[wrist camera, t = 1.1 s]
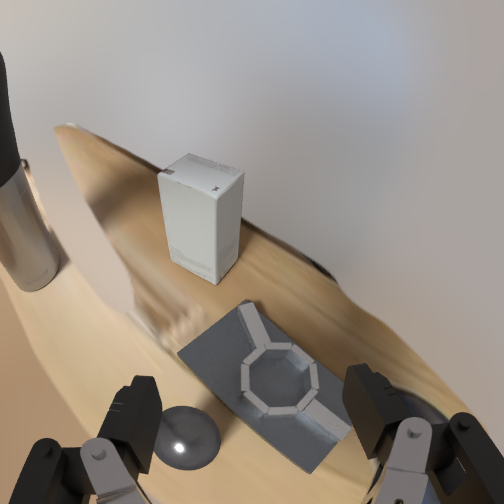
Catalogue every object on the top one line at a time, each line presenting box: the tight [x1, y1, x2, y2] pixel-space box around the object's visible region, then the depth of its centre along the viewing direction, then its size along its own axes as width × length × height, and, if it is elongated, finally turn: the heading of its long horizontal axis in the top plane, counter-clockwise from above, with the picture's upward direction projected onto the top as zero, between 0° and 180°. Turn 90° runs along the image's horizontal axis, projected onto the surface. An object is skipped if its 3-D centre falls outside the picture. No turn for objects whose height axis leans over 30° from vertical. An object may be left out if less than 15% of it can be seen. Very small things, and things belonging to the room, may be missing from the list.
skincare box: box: [157, 154, 244, 285], centre depth 34 cm, size 8×6×15 cm
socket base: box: [177, 299, 352, 474], centre depth 28 cm, size 20×11×4 cm, turn 47°
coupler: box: [153, 406, 221, 470], centre depth 19 cm, size 5×5×12 cm
